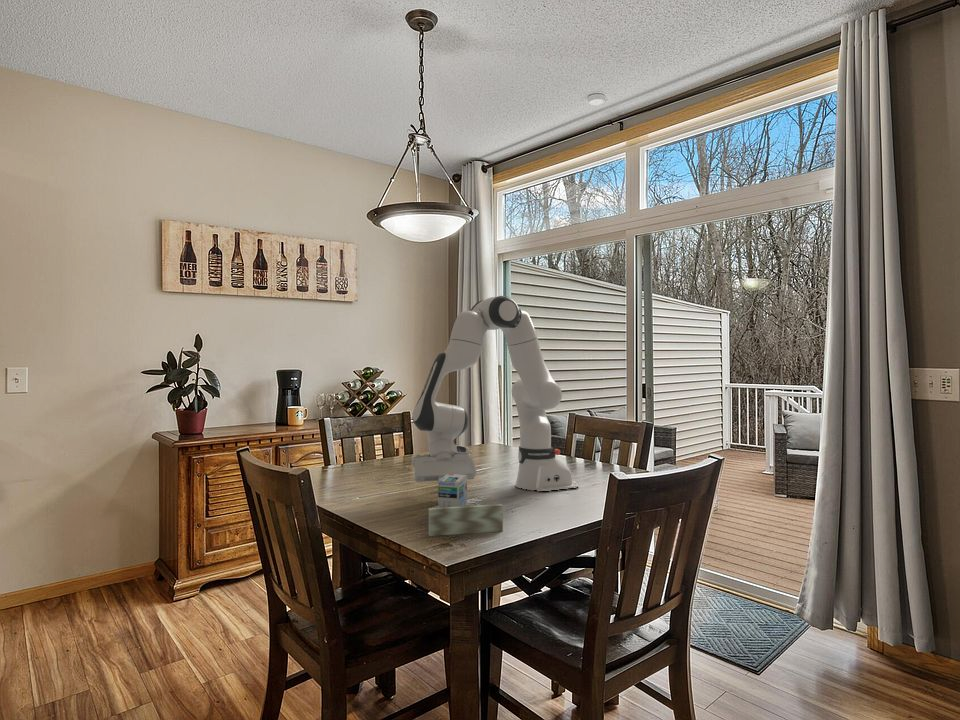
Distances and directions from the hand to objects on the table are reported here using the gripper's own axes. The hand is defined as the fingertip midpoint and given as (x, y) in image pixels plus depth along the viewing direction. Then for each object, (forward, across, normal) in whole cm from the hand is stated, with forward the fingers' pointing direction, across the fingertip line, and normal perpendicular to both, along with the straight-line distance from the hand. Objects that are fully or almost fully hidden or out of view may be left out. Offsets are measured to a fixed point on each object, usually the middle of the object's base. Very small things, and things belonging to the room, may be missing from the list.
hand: (447, 490), depth 183 cm
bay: (+19, 0, -12) cm, 22 cm away
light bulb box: (+10, 0, -3) cm, 11 cm away
